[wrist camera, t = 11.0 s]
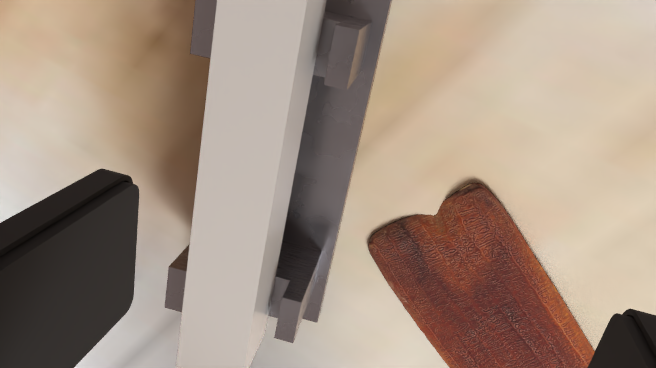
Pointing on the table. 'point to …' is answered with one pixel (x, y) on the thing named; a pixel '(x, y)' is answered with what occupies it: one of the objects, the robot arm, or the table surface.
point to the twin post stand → (312, 155)
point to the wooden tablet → (478, 287)
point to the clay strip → (245, 174)
